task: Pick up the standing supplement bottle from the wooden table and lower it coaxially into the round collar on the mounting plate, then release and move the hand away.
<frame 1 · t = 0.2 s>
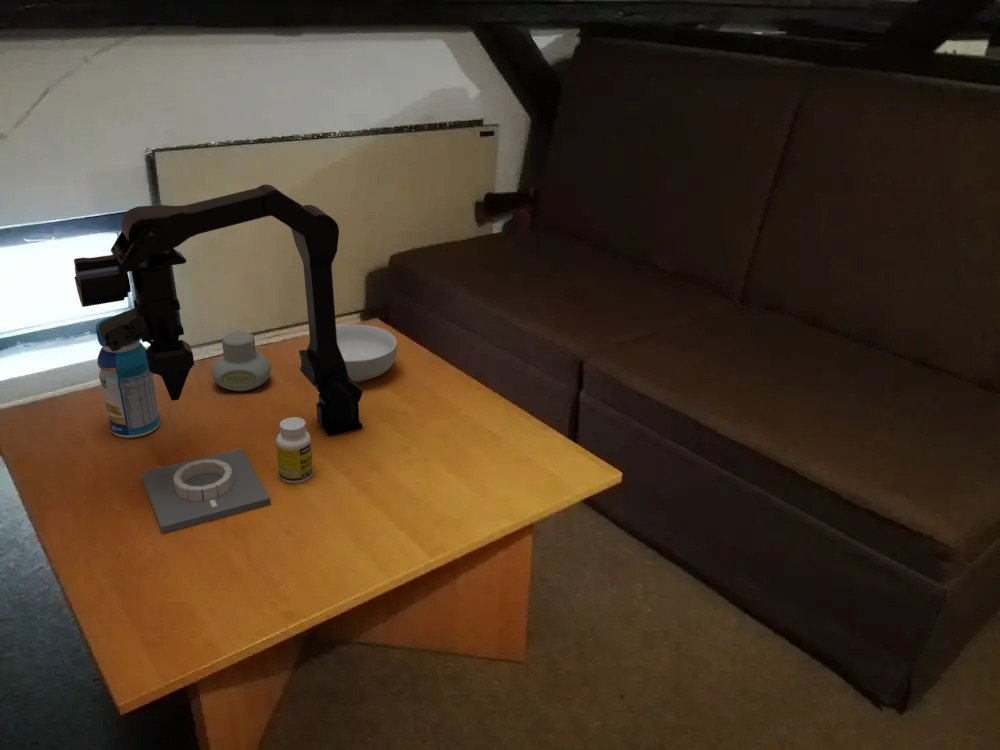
hand: (171, 386, 136), 14 cm above the table, tool pointing down, fingers open, 9 cm apart
cereal bowl: (355, 374, 174), on the table
supplement bottle: (296, 476, 141), on the table
air freshener: (243, 385, 168), on the table
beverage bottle: (136, 428, 152), on the table
mount plate: (205, 491, 136), on the table
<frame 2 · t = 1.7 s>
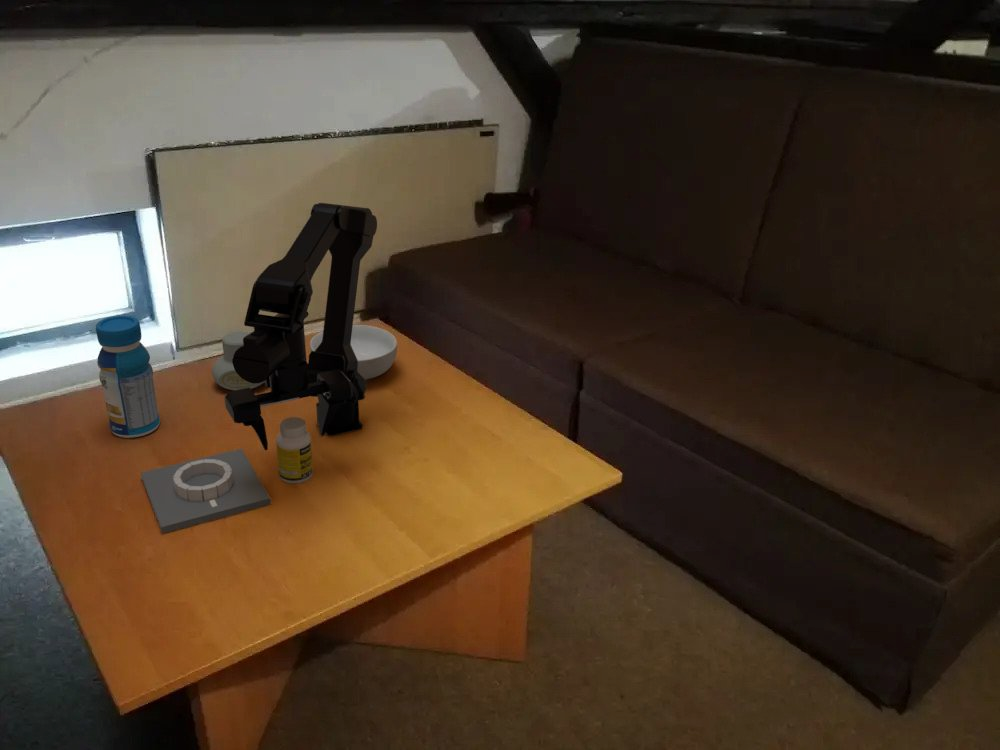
hand: (294, 441, 138), 6 cm above the table, tool pointing down, fingers open, 9 cm apart
nothing on the table moved.
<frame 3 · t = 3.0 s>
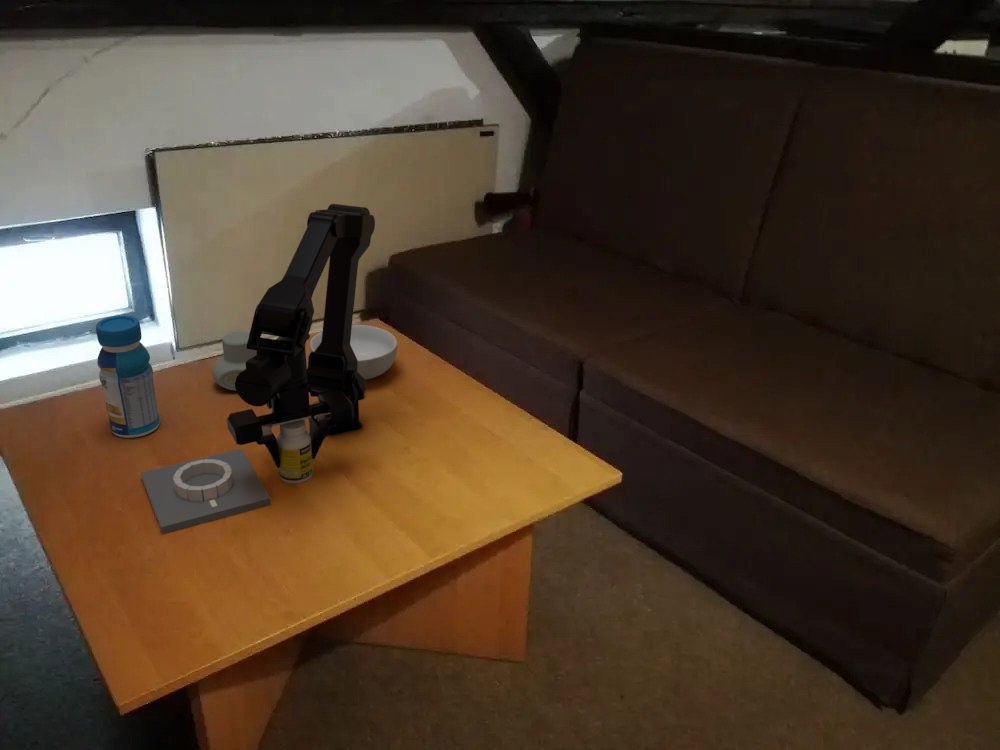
hand: (295, 462, 140), 3 cm above the table, tool pointing down, fingers closed on supplement bottle, 5 cm apart
supplement bottle: (296, 476, 141), on the table, touching gripper
everything else where it was.
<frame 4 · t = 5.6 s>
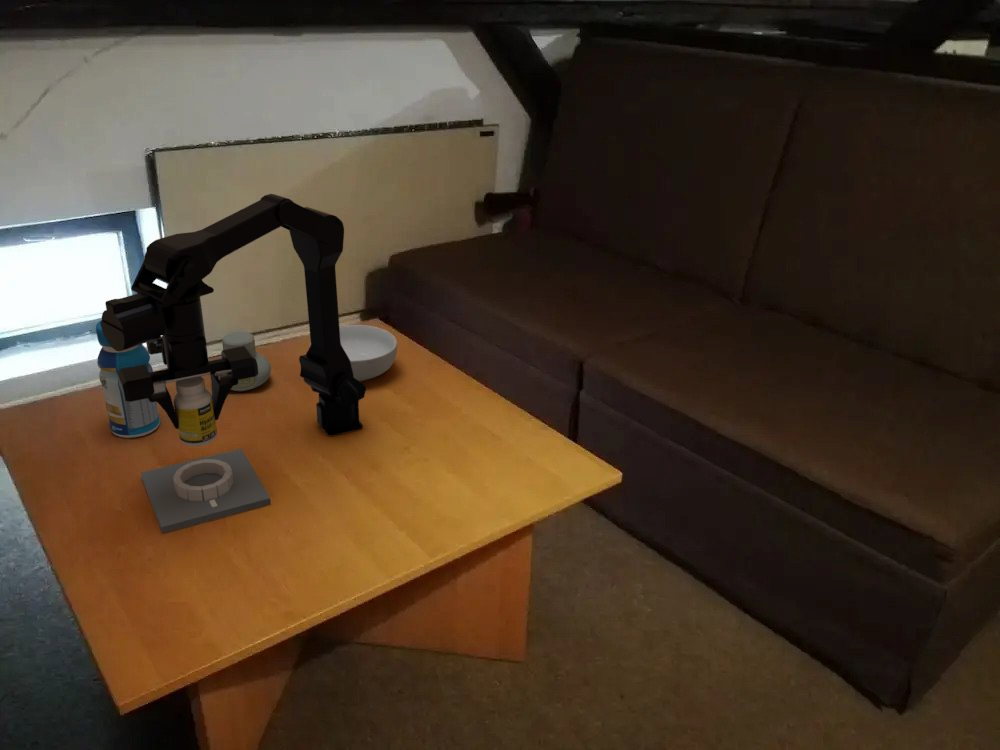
hand: (196, 423, 130), 12 cm above the table, tool pointing down, fingers closed on supplement bottle, 5 cm apart
supplement bottle: (199, 439, 132), point 10 cm above the table, touching gripper
everything else where it was.
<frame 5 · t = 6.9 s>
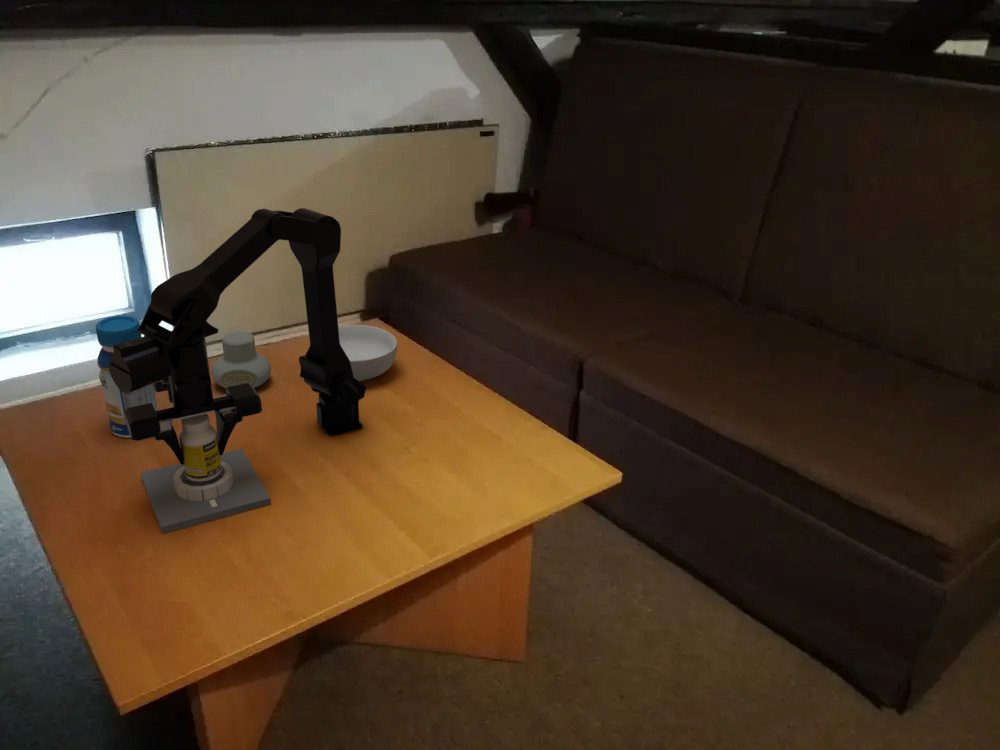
hand: (201, 458, 133), 6 cm above the table, tool pointing down, fingers closed on supplement bottle, 5 cm apart
supplement bottle: (204, 473, 135), point 3 cm above the table, touching gripper
everything else where it was.
when the fingers open (4 cm above the table, at t = 8.2 s): supplement bottle stays where it is, resting on mount plate.
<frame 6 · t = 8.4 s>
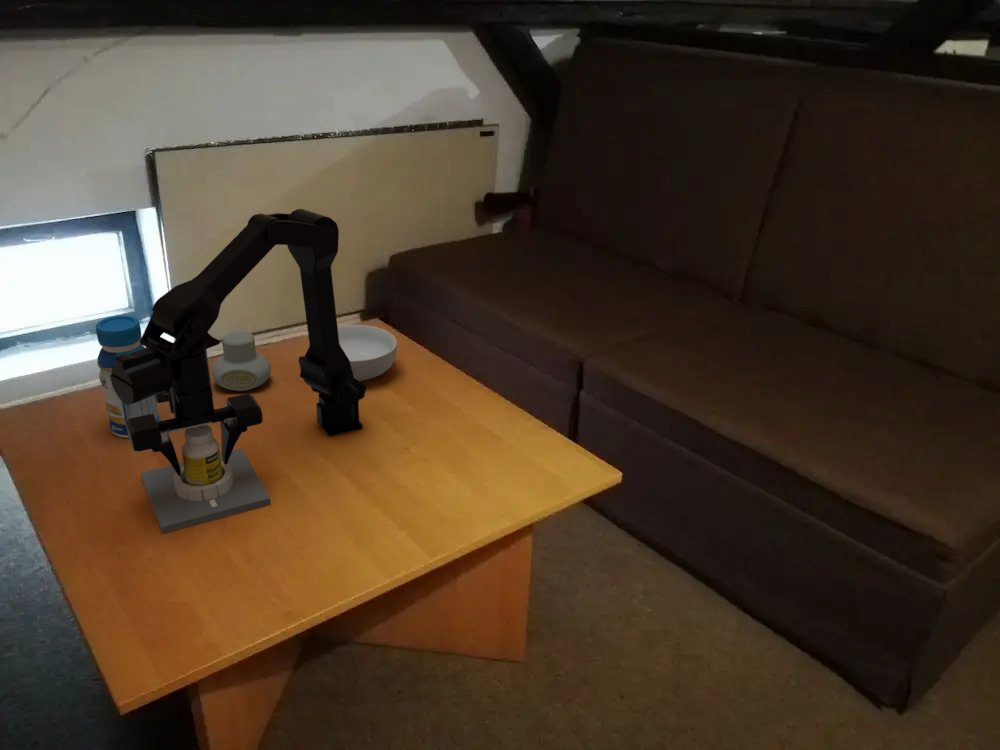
hand: (202, 468, 134), 4 cm above the table, tool pointing down, fingers open, 7 cm apart
supplement bottle: (205, 485, 136), point 1 cm above the table, touching mount plate
everything else where it was.
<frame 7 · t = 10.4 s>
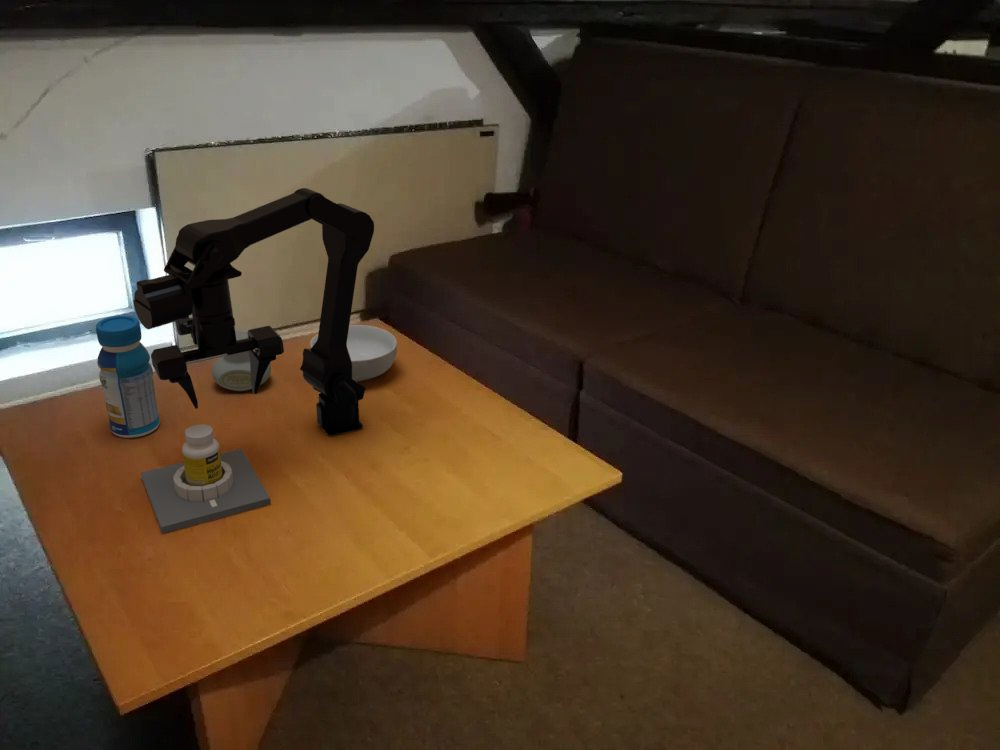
hand: (225, 400, 137), 12 cm above the table, tool pointing down, fingers open, 9 cm apart
nothing on the table moved.
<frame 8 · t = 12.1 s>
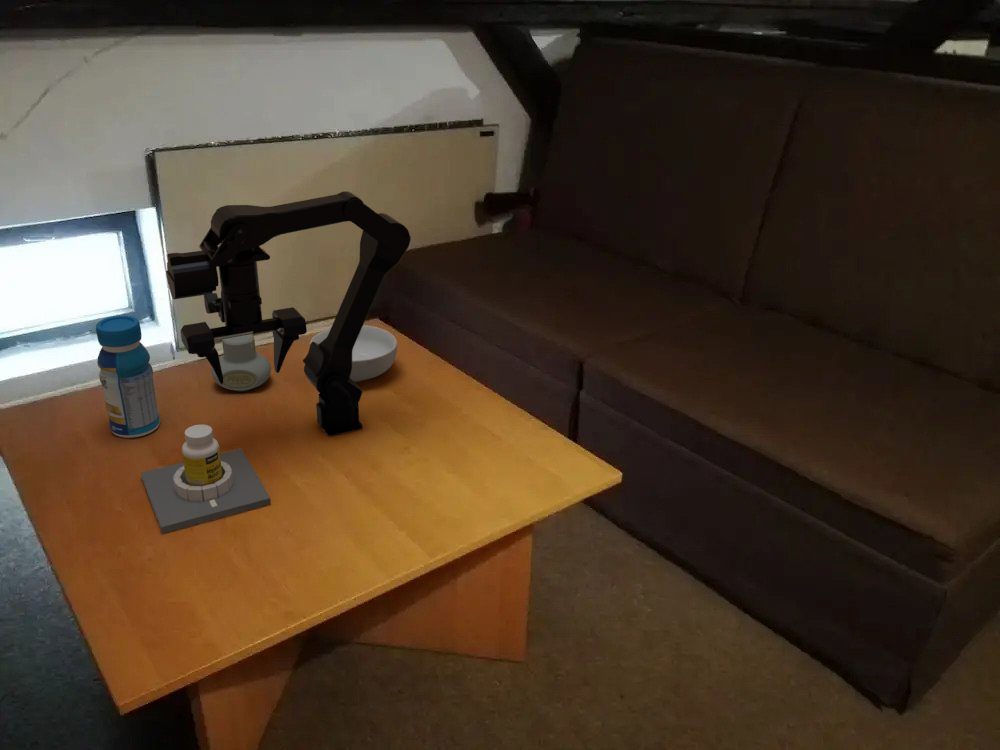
hand: (249, 377, 143), 13 cm above the table, tool pointing down, fingers open, 9 cm apart
nothing on the table moved.
at the end: supplement bottle 0.2 cm off-centre on the mount plate, point 1.0 cm above the mount plate's base; supplement bottle tilted 0°; the gripper is holding nothing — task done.
